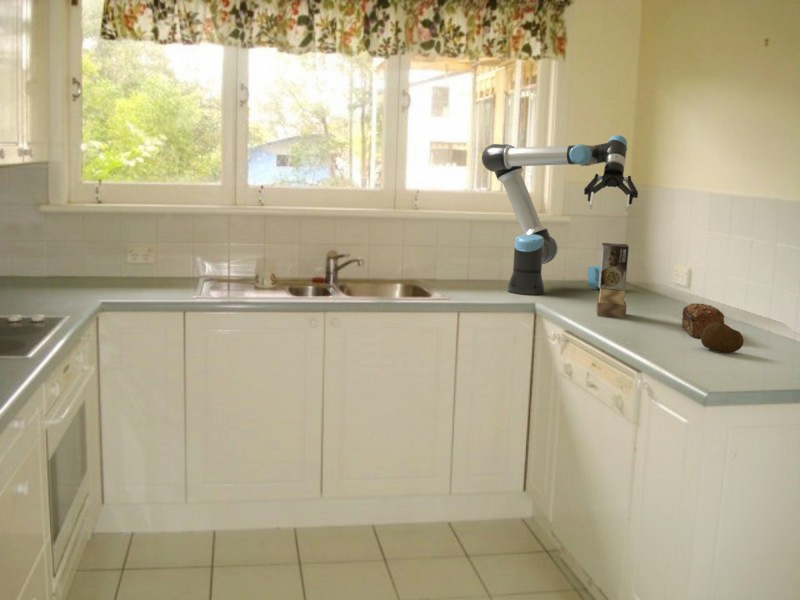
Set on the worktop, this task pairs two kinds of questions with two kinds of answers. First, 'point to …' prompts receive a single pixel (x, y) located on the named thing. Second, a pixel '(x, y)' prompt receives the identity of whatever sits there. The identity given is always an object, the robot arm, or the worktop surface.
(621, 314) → the tower base
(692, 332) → the bread
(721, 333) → the potato
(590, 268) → the teapot
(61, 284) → the worktop surface
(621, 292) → the tower top
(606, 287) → the coffee box
